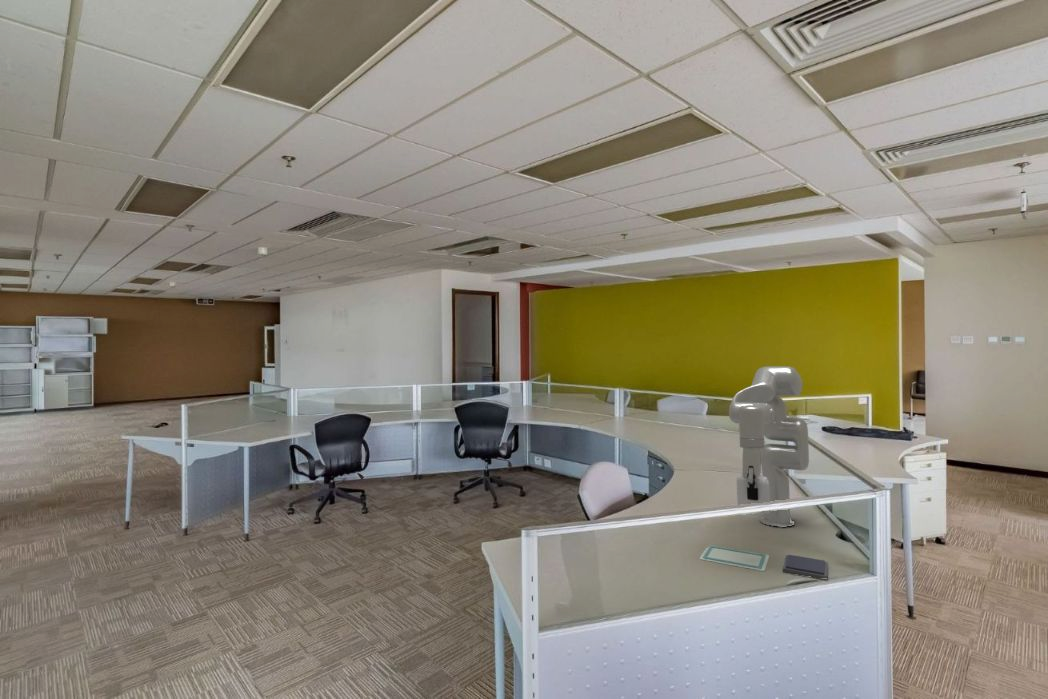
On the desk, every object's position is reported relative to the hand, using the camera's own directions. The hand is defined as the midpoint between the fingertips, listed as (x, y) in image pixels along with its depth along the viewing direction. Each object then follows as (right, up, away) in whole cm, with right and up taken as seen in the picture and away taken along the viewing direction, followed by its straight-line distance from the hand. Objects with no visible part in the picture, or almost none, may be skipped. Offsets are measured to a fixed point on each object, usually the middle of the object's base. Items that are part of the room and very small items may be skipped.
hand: (753, 496), depth 168 cm
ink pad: (+13, -21, -7) cm, 26 cm away
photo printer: (0, -5, 0) cm, 5 cm away
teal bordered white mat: (-5, -21, +3) cm, 22 cm away
